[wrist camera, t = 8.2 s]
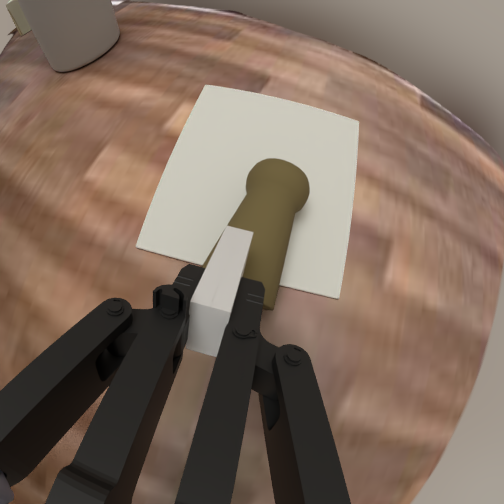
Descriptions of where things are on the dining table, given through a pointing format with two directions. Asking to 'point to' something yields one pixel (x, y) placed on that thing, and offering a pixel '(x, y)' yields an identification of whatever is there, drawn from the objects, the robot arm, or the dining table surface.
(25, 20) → the skincare box
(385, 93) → the dining table surface
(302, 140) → the felt mat
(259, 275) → the cork
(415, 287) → the dining table surface
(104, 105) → the dining table surface
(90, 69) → the dining table surface
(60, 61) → the cylinder vase
